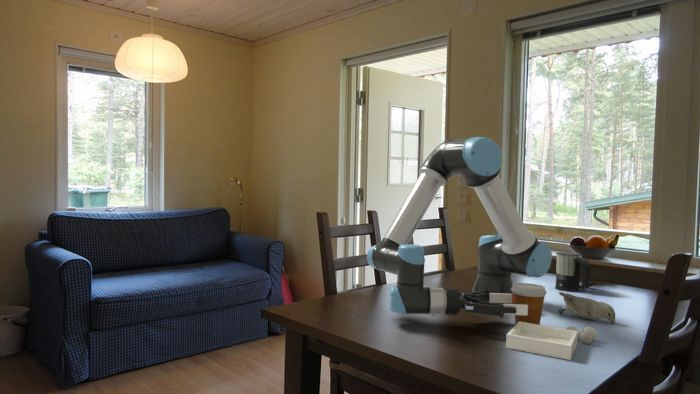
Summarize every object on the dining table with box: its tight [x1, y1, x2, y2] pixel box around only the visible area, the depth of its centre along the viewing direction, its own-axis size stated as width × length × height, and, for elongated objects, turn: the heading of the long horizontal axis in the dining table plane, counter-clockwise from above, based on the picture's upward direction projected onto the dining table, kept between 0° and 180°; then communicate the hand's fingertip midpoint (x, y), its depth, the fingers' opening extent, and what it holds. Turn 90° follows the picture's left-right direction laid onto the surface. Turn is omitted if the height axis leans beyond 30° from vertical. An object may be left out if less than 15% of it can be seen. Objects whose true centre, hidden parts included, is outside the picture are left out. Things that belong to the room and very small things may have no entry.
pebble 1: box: [566, 326, 580, 336], centre depth 128 cm, size 3×3×3 cm
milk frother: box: [554, 251, 598, 292], centre depth 197 cm, size 14×16×15 cm
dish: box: [505, 322, 579, 361], centre depth 121 cm, size 15×15×3 cm
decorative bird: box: [557, 291, 616, 325], centre depth 149 cm, size 5×16×7 cm, turn 53°
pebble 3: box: [582, 326, 597, 341], centre depth 128 cm, size 3×3×3 cm
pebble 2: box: [578, 330, 594, 344], centre depth 125 cm, size 3×3×3 cm
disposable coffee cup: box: [511, 282, 547, 326], centre depth 137 cm, size 10×10×12 cm
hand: (519, 304), depth 137 cm, fingers open, 13 cm apart
